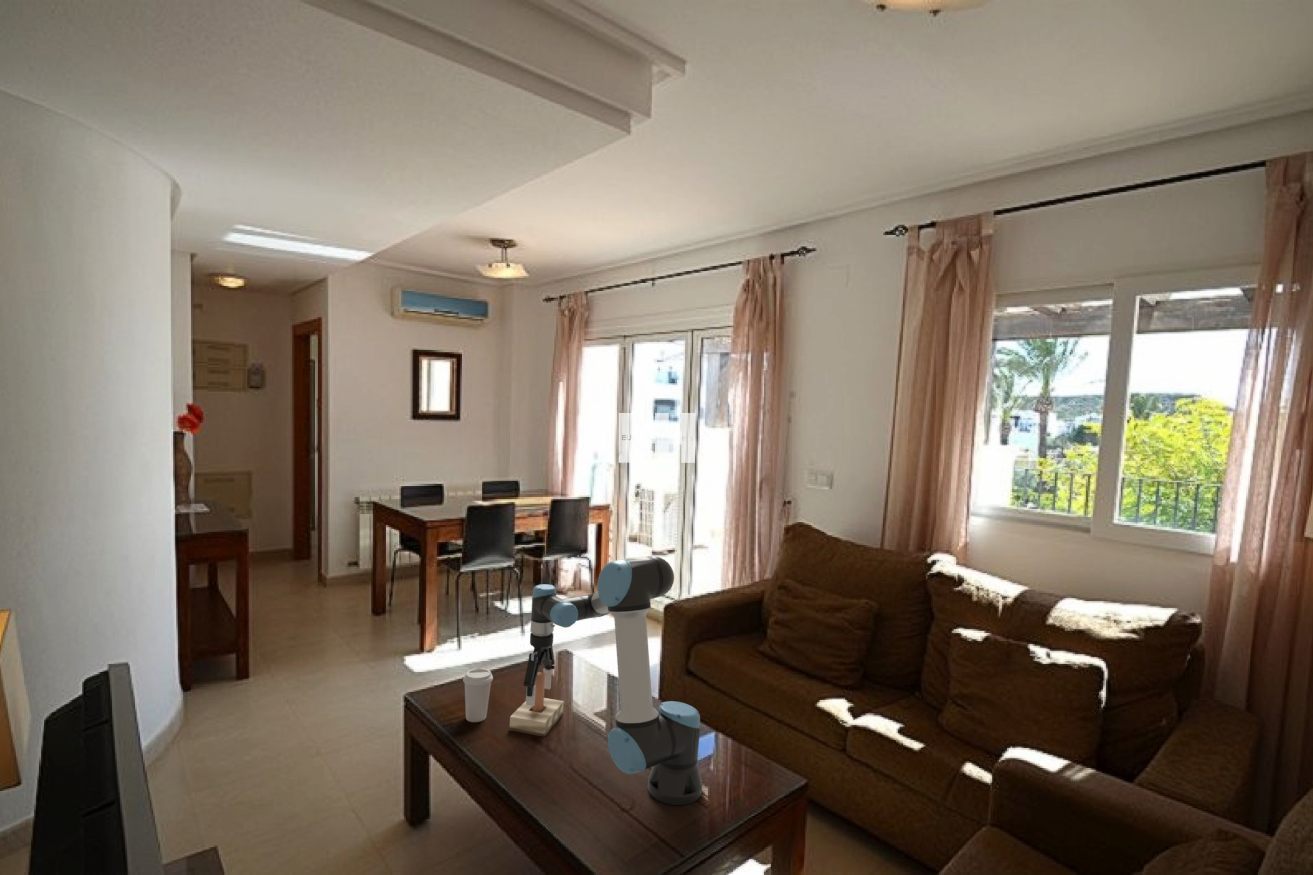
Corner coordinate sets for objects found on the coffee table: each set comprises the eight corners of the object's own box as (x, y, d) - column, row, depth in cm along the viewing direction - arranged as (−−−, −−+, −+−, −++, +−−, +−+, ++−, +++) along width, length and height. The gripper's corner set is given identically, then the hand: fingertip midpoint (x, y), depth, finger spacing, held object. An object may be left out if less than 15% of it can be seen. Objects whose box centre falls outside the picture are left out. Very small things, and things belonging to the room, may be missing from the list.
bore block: (544, 736, 198) (545, 722, 198) (509, 730, 201) (510, 716, 201) (563, 714, 214) (563, 701, 214) (530, 708, 216) (531, 695, 216)
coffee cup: (495, 712, 212) (497, 668, 212) (484, 725, 203) (487, 680, 202) (467, 709, 213) (470, 665, 213) (456, 722, 204) (458, 677, 203)
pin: (539, 722, 205) (542, 677, 204) (529, 720, 206) (532, 675, 205) (544, 717, 208) (547, 673, 208) (534, 715, 209) (537, 671, 209)
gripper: (537, 646, 193) (533, 714, 194) (566, 622, 217) (563, 683, 218) (514, 643, 195) (511, 710, 196) (546, 619, 219) (542, 680, 220)
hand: (538, 696), depth 207 cm, fingers open, 12 cm apart
